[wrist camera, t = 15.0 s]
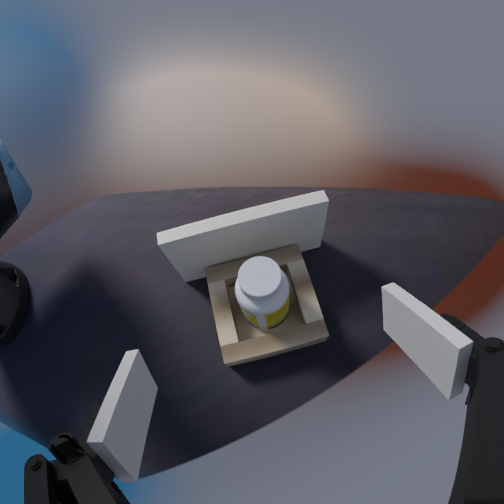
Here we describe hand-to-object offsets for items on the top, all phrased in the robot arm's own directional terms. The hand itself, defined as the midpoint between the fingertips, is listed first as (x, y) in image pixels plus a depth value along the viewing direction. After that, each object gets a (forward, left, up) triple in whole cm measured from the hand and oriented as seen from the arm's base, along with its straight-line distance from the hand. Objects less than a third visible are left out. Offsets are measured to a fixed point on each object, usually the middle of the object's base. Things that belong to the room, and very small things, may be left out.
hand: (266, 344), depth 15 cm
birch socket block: (-2, +8, -20) cm, 21 cm away
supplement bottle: (-2, +8, -20) cm, 21 cm away
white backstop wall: (-4, +14, -20) cm, 25 cm away
